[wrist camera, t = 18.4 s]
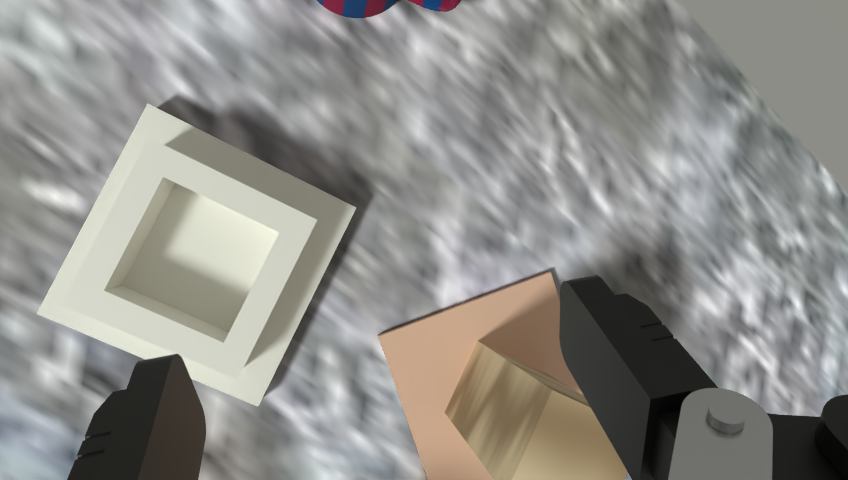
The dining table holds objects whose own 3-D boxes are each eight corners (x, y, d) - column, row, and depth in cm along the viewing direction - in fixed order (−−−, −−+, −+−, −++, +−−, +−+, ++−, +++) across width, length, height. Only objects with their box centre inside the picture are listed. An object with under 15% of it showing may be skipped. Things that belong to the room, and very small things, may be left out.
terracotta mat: (437, 508, 38) (439, 512, 38) (378, 334, 37) (378, 336, 37) (600, 437, 40) (604, 440, 40) (547, 271, 39) (550, 272, 39)
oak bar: (511, 441, 39) (600, 534, 27) (444, 412, 38) (505, 494, 26) (543, 371, 39) (644, 432, 27) (477, 340, 38) (552, 390, 26)
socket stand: (260, 399, 36) (253, 422, 32) (48, 310, 34) (9, 322, 29) (354, 208, 37) (360, 205, 32) (154, 109, 35) (131, 91, 30)
